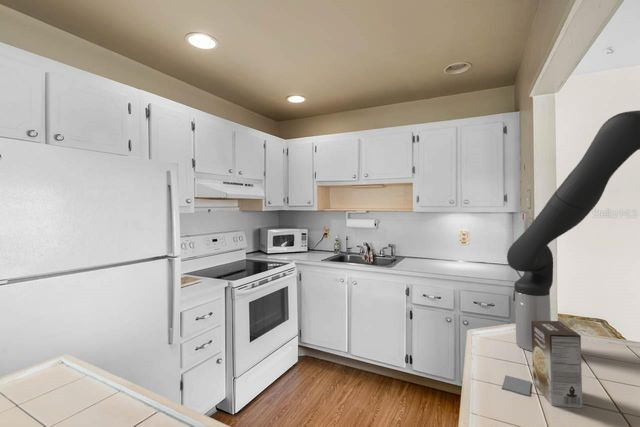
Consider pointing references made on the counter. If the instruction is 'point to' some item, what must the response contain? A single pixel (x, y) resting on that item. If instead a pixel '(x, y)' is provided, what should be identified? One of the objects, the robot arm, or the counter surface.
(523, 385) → the mat
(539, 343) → the coffee box
